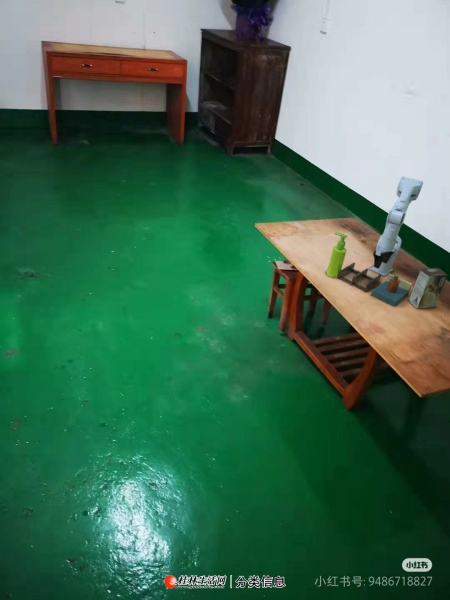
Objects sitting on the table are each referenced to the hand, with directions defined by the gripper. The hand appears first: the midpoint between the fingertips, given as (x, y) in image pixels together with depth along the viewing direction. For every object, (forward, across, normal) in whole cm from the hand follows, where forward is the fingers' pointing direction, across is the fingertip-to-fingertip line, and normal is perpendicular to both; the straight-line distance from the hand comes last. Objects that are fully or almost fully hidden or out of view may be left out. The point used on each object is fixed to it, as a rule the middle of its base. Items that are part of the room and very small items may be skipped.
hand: (380, 265), depth 202 cm
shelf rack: (+9, -4, +6) cm, 12 cm away
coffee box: (+10, +1, -22) cm, 24 cm away
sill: (+9, -4, -10) cm, 14 cm away
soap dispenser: (+10, -9, +17) cm, 21 cm away
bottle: (+7, -4, -10) cm, 12 cm away
